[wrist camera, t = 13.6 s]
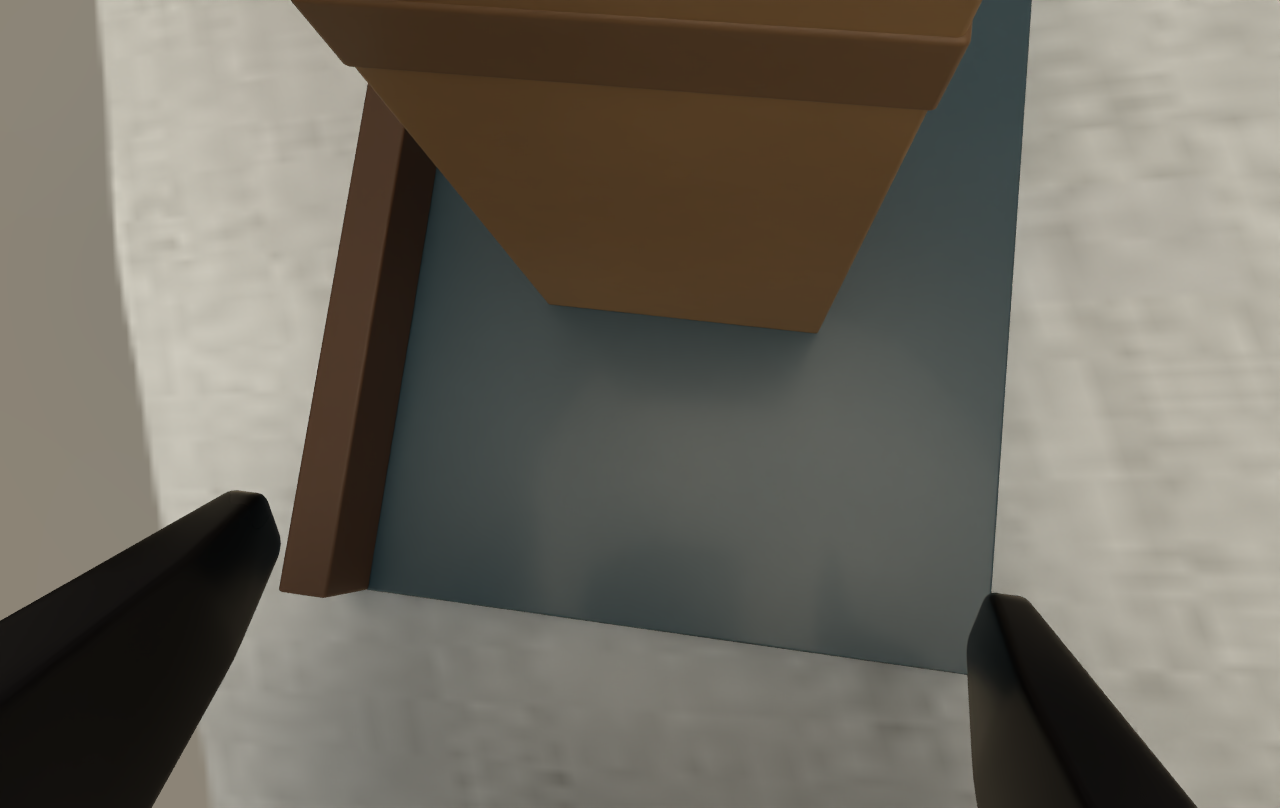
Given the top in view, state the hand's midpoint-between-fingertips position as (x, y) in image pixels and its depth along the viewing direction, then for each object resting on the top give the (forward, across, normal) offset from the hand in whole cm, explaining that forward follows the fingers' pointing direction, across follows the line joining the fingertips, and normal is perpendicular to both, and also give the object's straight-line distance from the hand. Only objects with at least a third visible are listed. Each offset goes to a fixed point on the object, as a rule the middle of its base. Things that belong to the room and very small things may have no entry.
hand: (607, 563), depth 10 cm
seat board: (+12, 0, 0) cm, 12 cm away
